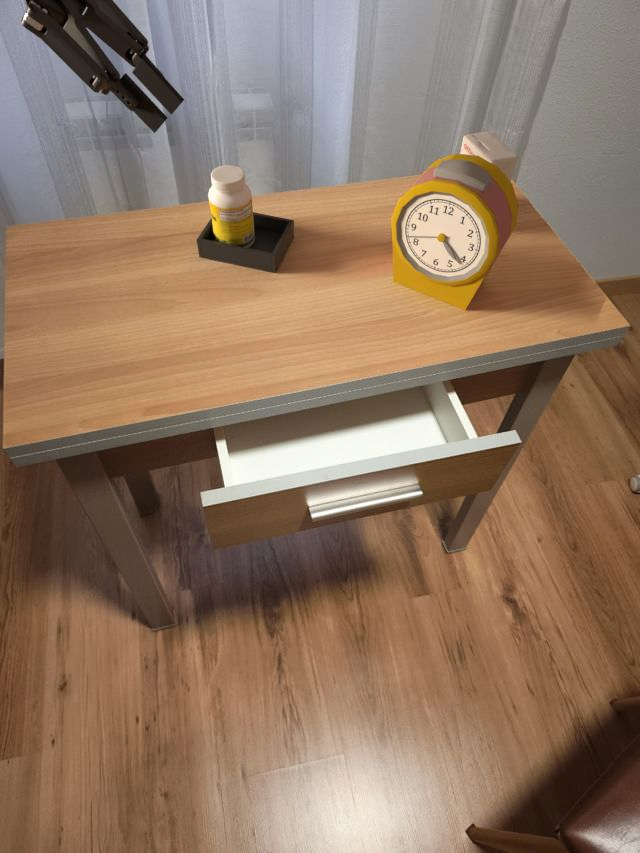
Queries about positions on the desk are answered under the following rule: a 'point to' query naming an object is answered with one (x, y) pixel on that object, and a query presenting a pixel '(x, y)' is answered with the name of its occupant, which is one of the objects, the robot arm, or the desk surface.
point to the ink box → (490, 151)
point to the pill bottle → (231, 207)
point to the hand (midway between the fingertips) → (169, 115)
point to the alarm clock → (452, 228)
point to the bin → (263, 253)
